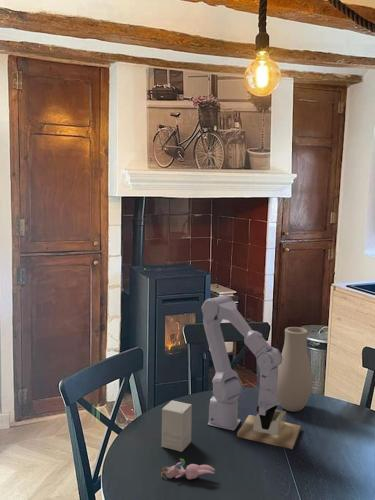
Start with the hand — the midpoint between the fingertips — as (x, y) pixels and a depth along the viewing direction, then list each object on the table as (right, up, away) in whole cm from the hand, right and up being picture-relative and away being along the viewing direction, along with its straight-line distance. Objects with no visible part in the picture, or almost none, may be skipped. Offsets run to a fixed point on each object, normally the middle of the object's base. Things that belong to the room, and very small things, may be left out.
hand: (266, 427), depth 164 cm
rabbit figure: (-25, -7, -21) cm, 34 cm away
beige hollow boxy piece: (+2, -2, +5) cm, 5 cm away
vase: (+13, -2, +24) cm, 28 cm away
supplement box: (-29, -4, -3) cm, 29 cm away
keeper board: (+2, -4, +5) cm, 7 cm away
